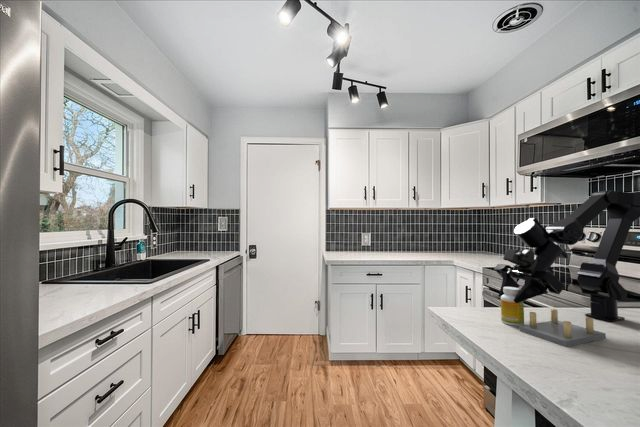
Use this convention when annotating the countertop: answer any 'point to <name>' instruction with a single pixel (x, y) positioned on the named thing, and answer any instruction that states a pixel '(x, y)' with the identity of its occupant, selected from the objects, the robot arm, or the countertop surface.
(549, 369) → the countertop surface
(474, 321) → the countertop surface
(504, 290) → the supplement bottle
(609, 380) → the countertop surface
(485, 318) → the countertop surface
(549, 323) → the plate
